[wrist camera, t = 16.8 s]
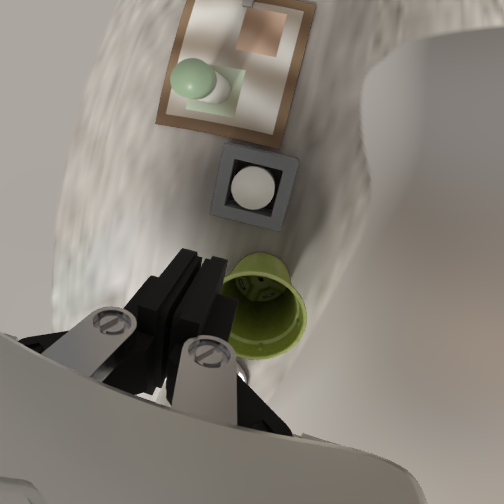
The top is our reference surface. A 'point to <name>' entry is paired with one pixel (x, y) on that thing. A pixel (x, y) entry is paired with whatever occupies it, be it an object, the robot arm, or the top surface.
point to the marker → (199, 82)
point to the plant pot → (264, 308)
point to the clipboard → (240, 66)
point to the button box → (226, 175)
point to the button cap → (253, 187)
